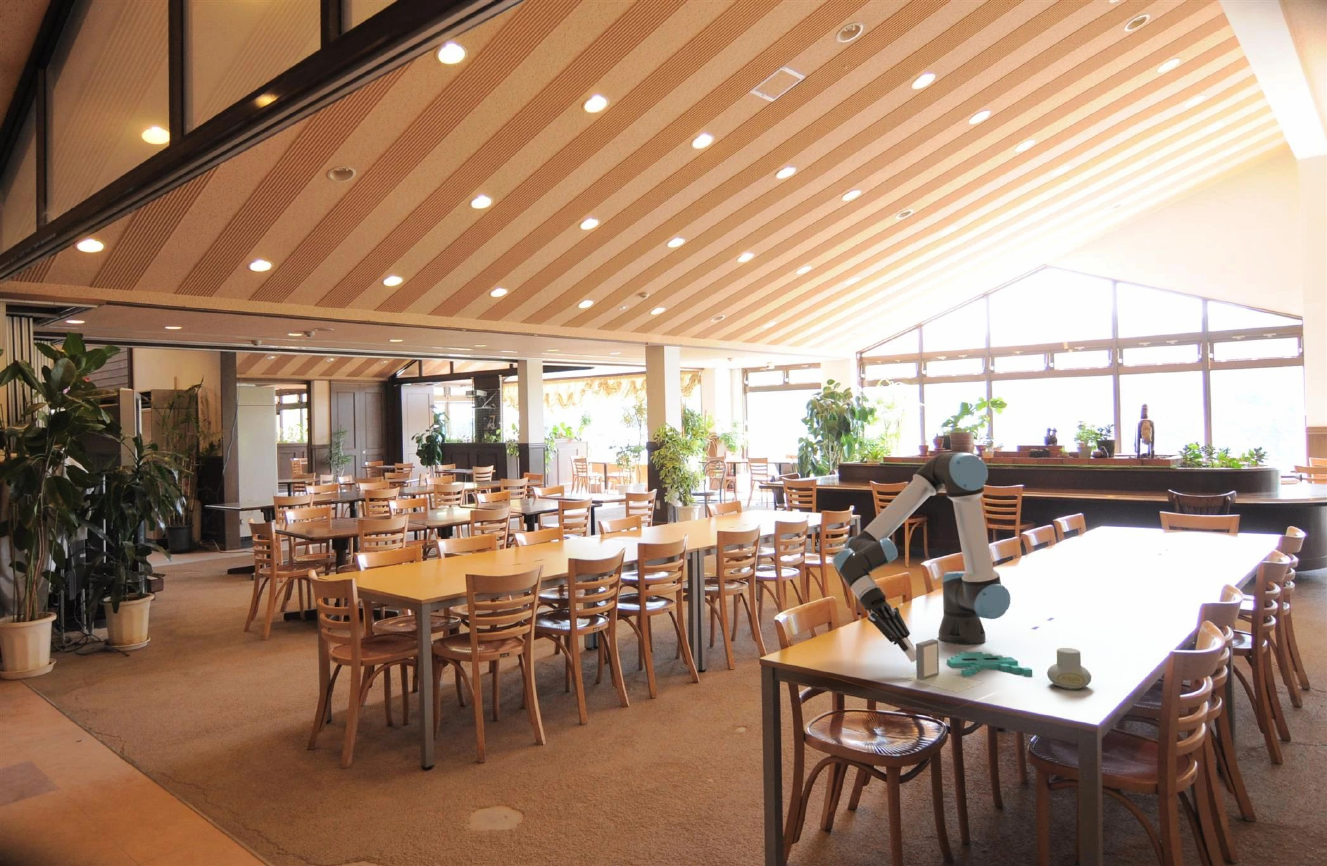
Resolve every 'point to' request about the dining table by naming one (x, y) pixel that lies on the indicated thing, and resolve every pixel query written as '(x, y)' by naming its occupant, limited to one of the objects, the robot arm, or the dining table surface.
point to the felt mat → (945, 681)
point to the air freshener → (1069, 670)
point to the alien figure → (986, 663)
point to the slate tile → (927, 659)
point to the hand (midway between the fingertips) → (915, 659)
